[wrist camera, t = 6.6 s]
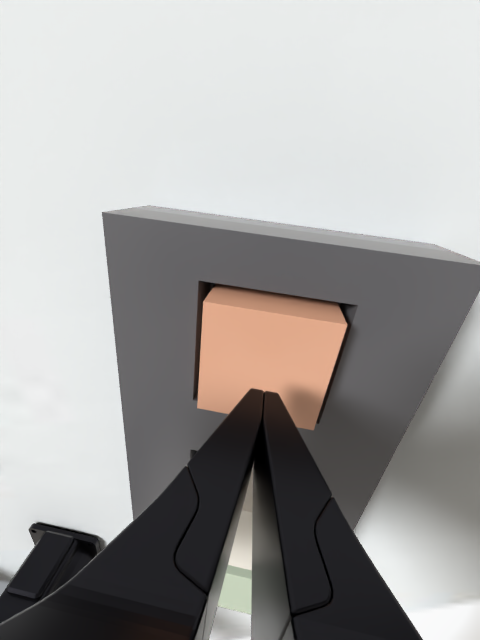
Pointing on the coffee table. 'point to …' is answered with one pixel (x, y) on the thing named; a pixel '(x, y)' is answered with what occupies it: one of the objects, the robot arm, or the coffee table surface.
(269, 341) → the terracotta keycap
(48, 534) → the robot arm
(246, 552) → the ivory keycap
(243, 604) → the sage keycap
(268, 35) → the coffee table surface
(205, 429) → the grey flat rectangular block
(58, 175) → the coffee table surface
